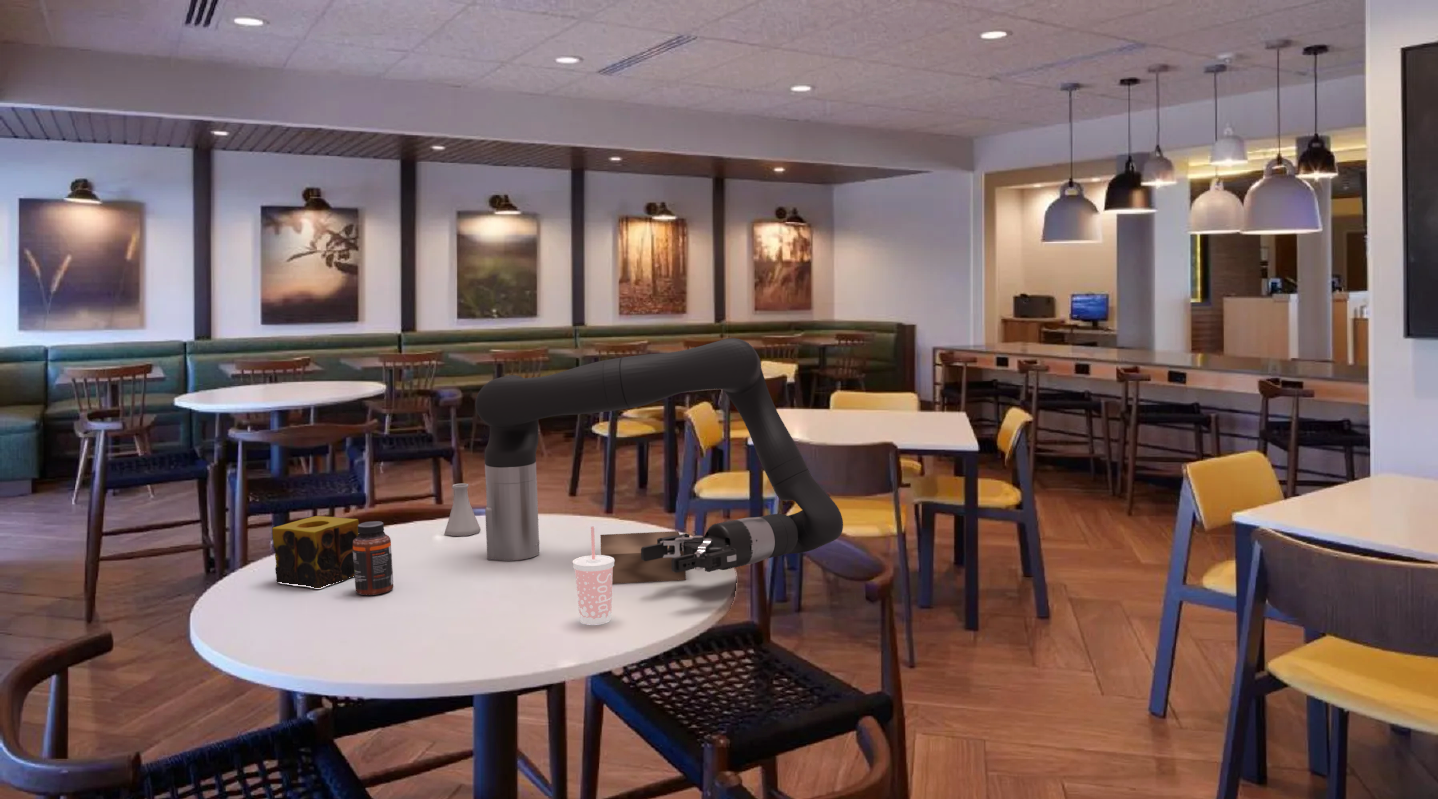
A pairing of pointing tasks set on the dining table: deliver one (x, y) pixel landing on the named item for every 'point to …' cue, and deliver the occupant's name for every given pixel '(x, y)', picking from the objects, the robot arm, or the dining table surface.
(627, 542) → the walnut riser block
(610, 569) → the beverage cup
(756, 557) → the robot arm
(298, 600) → the dining table surface
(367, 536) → the supplement bottle
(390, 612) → the dining table surface
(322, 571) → the yellow tissue box cover
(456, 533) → the flask
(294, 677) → the dining table surface
